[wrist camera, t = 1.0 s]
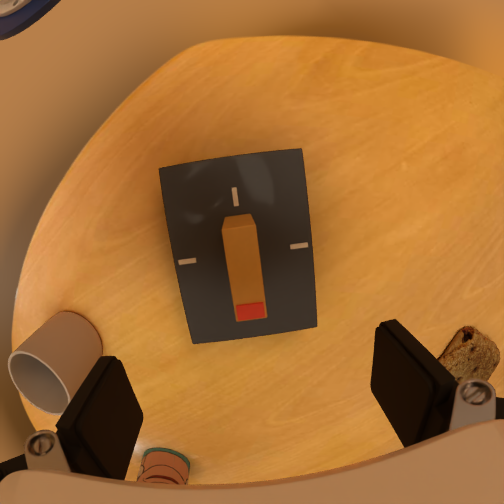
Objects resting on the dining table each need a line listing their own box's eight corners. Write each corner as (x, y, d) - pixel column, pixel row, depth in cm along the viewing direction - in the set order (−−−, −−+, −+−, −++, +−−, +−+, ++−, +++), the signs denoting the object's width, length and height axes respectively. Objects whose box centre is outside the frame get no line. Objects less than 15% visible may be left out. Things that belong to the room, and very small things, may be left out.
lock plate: (167, 169, 24) (157, 168, 21) (294, 151, 25) (302, 147, 22) (196, 328, 28) (192, 345, 25) (309, 312, 28) (318, 327, 25)
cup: (71, 297, 27) (25, 337, 18) (134, 367, 29) (108, 423, 20) (40, 328, 27) (-1, 368, 19) (97, 391, 30) (70, 441, 21)
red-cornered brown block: (224, 216, 23) (221, 229, 17) (250, 213, 23) (256, 224, 17) (235, 291, 24) (236, 324, 19) (260, 287, 24) (268, 319, 19)
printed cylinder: (199, 465, 33) (193, 553, 19) (169, 477, 34) (157, 556, 20) (163, 442, 32) (144, 536, 17) (134, 455, 33) (111, 538, 18)
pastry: (502, 305, 30) (515, 313, 27) (483, 392, 35) (492, 401, 32) (408, 351, 30) (420, 365, 28) (400, 436, 35) (407, 449, 32)
